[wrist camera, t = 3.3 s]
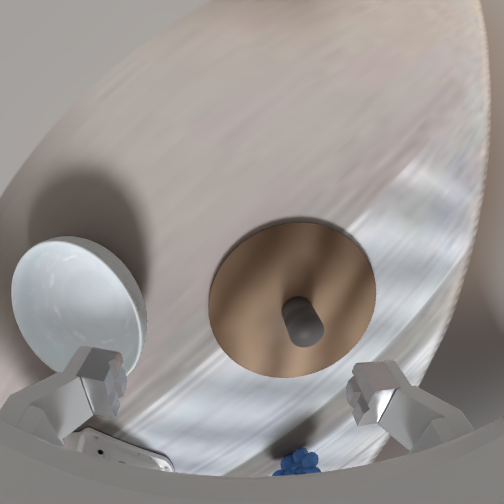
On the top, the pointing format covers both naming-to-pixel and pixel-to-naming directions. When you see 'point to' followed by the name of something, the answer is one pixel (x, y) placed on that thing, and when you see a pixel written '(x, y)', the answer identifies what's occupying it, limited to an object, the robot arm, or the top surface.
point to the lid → (292, 300)
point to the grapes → (299, 463)
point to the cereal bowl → (77, 302)
